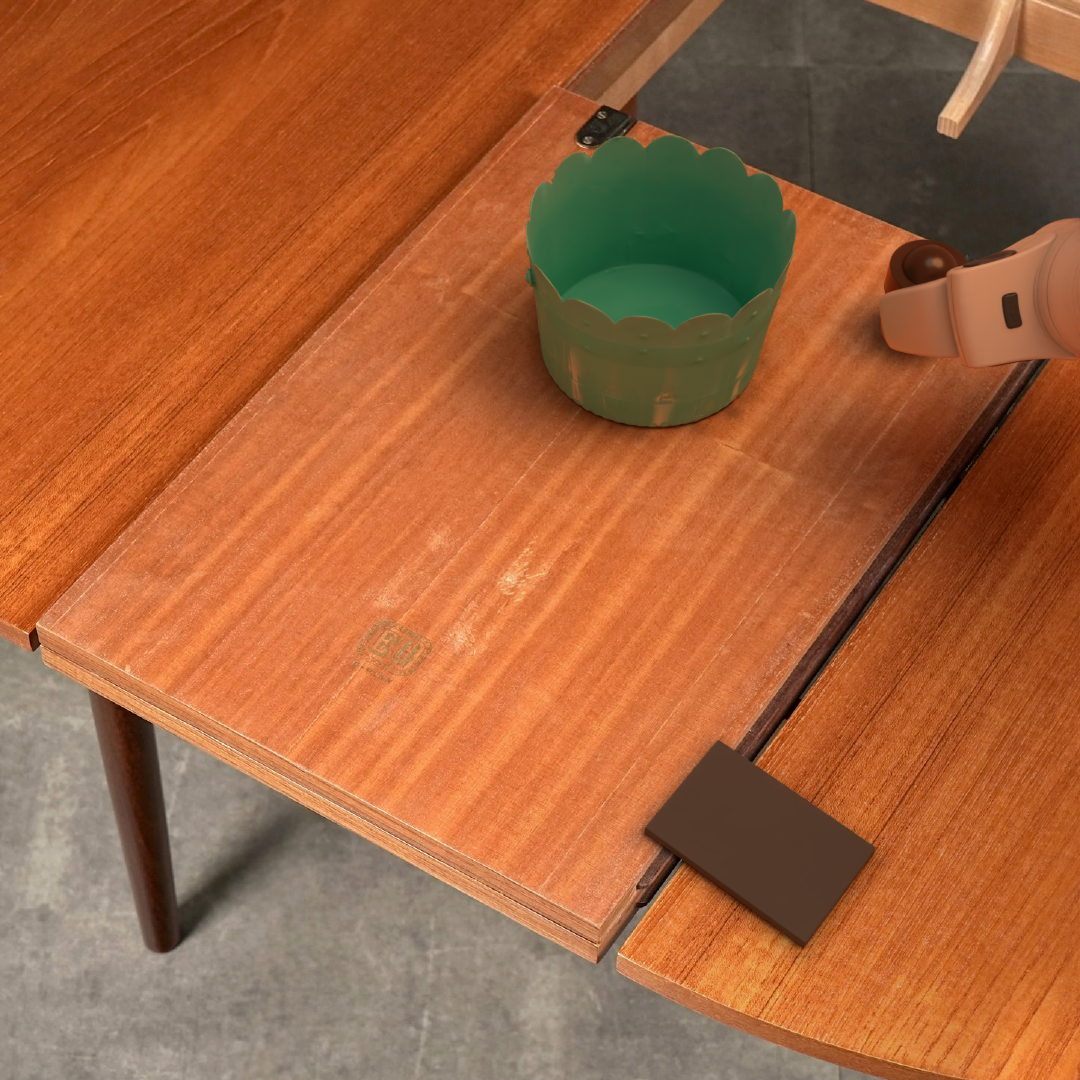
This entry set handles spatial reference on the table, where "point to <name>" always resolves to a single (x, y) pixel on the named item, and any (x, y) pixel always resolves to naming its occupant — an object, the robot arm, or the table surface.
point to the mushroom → (920, 264)
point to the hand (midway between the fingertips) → (974, 286)
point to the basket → (656, 277)
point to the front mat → (760, 842)
